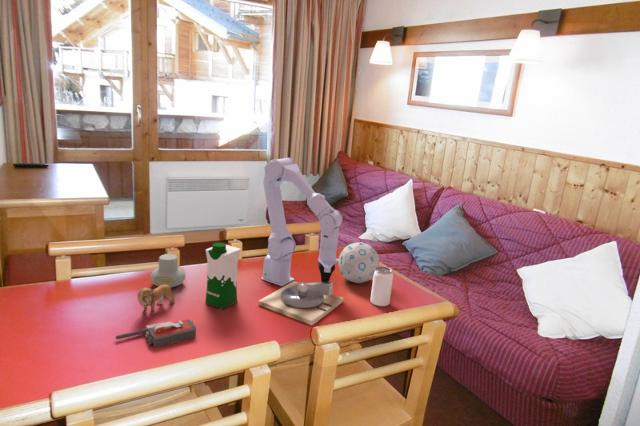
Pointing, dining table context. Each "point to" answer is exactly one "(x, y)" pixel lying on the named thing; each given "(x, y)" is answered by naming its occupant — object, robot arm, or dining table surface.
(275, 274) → the robot arm
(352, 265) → the puzzle ball
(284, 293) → the dial
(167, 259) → the air freshener
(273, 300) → the stand plate
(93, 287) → the dining table surface
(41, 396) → the dining table surface
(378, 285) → the can
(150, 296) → the lion figurine
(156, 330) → the walkie-talkie
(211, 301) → the milk carton
